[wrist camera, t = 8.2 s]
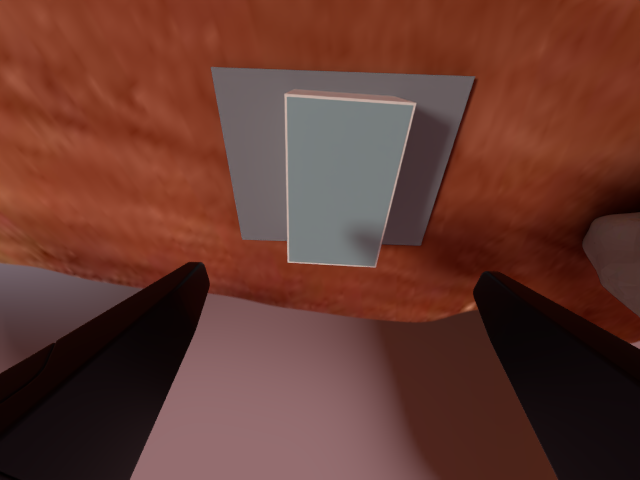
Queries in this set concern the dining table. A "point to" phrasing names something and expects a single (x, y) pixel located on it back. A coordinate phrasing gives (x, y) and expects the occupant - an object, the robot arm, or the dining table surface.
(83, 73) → the dining table surface
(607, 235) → the ceramic sculpture
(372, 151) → the card box
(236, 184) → the mat
